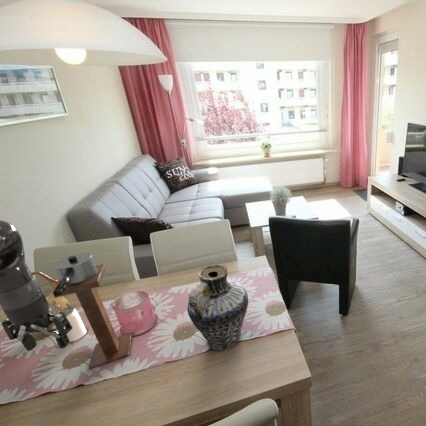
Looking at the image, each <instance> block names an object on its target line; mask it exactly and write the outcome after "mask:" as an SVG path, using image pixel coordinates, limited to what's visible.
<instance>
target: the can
mask: <svg viewBox="0 0 426 426" xmlns="http://www.w3.org/2000/svg"><path fill="white" fill-rule="evenodd" d="M60 312H63V313H64V314H65V316H66V317H67V319H68V321H69V322H70V324H71V326H72V329H71V330H70V331H69V332H68V333H67V336H68V338H69V340H70V342H69V343H72V342H76V341H78V340H80V339H81V338H83V337H84V336H85V335H86V334H87V329H86V327H85V325H84V323H83V320H82V318H81V316H80V314H79V312H78V310H77V309H75V307H73V306H71V307H68V308H65V309H62V310H60V311H59V312H57V313H56V314H55V315H57V314H58V313H60ZM64 328H66V327H65V326H64Z"/></svg>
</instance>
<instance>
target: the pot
mask: <svg viewBox="0 0 426 426" xmlns="http://www.w3.org/2000/svg"><path fill="white" fill-rule="evenodd" d="M53 266H54V270H55V271H56V274H57V276H58V278H59V280H60V282H59V284H58V285H57V287H56V288H55V290H54V292H53V294H54V295H55V296H61V295H62V294H63V292H64V291H65V289H66V287H67V286H70V285H76V284H80V283H83V282H85V281H87V280H89V279H91V278H93V277H94V276H95V275H96V274H97V273H98V270H97V268H96V266H97V265H96V263H95V261H94V258H93V256H92V253H90V252H78V253H75V254H71V255H68V256H65V257H63V258H61V259H59V260H57V262H55V264H53Z"/></svg>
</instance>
